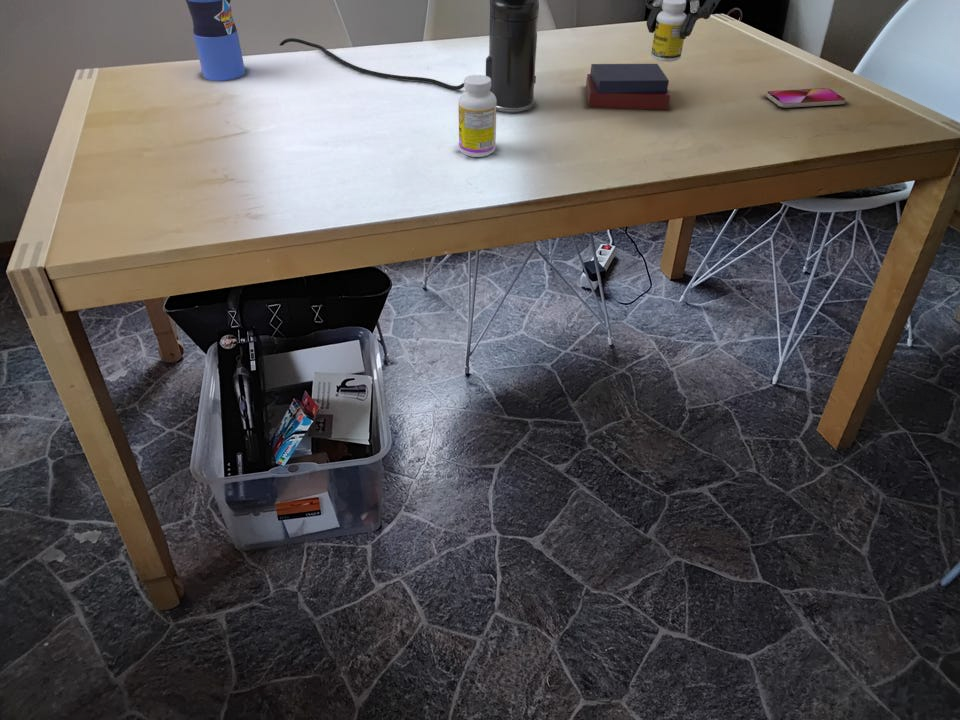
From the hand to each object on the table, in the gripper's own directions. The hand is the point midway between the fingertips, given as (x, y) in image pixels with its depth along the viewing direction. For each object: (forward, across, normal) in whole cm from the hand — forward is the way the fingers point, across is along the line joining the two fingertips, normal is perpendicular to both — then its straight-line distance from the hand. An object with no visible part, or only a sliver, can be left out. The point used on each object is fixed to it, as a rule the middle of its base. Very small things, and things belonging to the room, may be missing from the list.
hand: (666, 33), depth 129 cm
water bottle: (+31, -90, -6) cm, 95 cm away
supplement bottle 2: (+2, 0, +5) cm, 5 cm away
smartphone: (-9, +22, +35) cm, 42 cm away
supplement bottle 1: (+32, -22, -8) cm, 39 cm away
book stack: (+5, -10, +20) cm, 23 cm away
